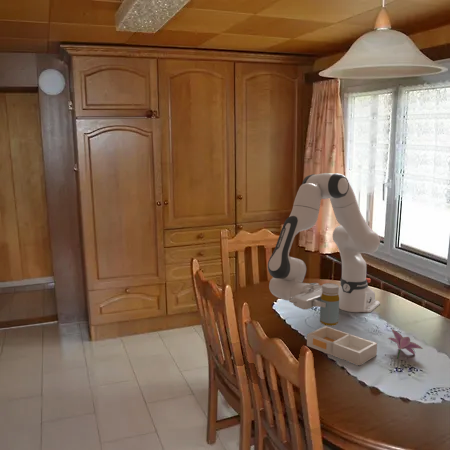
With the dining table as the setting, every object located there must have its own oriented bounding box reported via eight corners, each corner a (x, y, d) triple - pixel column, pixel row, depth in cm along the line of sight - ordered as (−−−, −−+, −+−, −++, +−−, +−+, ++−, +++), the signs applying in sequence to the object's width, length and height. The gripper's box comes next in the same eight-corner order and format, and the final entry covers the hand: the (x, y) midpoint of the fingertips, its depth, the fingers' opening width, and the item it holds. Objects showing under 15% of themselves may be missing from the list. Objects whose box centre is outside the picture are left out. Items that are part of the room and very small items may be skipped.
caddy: (325, 336, 193) (325, 325, 192) (376, 355, 176) (377, 343, 176) (306, 345, 185) (306, 334, 184) (358, 366, 168) (358, 353, 167)
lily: (424, 366, 170) (429, 339, 173) (397, 356, 167) (402, 330, 170) (402, 361, 182) (407, 337, 184) (376, 353, 179) (382, 328, 181)
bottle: (338, 327, 179) (340, 288, 176) (319, 325, 180) (321, 287, 178) (338, 320, 186) (339, 283, 183) (319, 318, 187) (321, 282, 184)
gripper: (286, 292, 183) (315, 301, 173) (318, 281, 197) (347, 289, 187) (286, 307, 185) (314, 317, 175) (317, 296, 198) (346, 304, 188)
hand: (331, 302), depth 181 cm, fingers closed on bottle, 6 cm apart
